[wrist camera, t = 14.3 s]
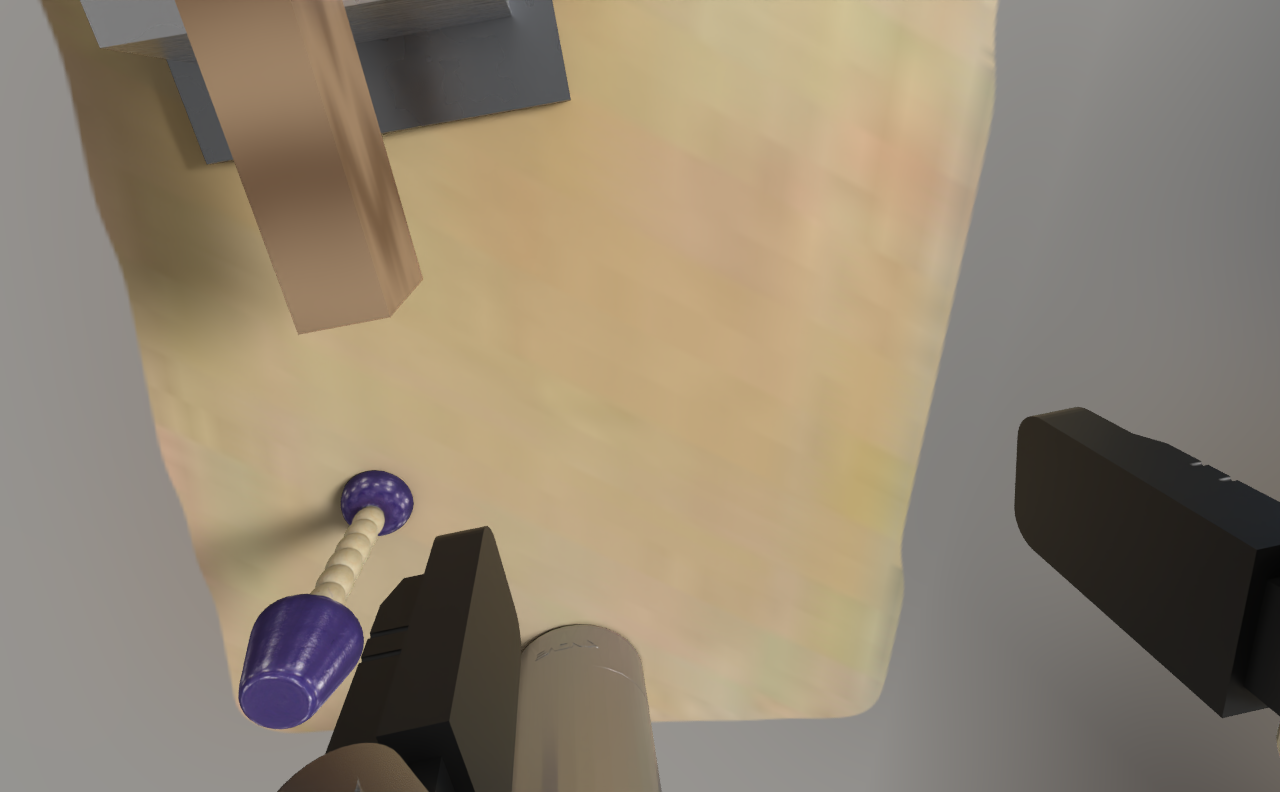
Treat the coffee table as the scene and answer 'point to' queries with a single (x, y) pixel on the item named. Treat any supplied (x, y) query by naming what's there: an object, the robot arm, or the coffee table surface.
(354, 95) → the brown wooden plank
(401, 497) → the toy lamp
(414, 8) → the ridge stand
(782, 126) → the coffee table surface
